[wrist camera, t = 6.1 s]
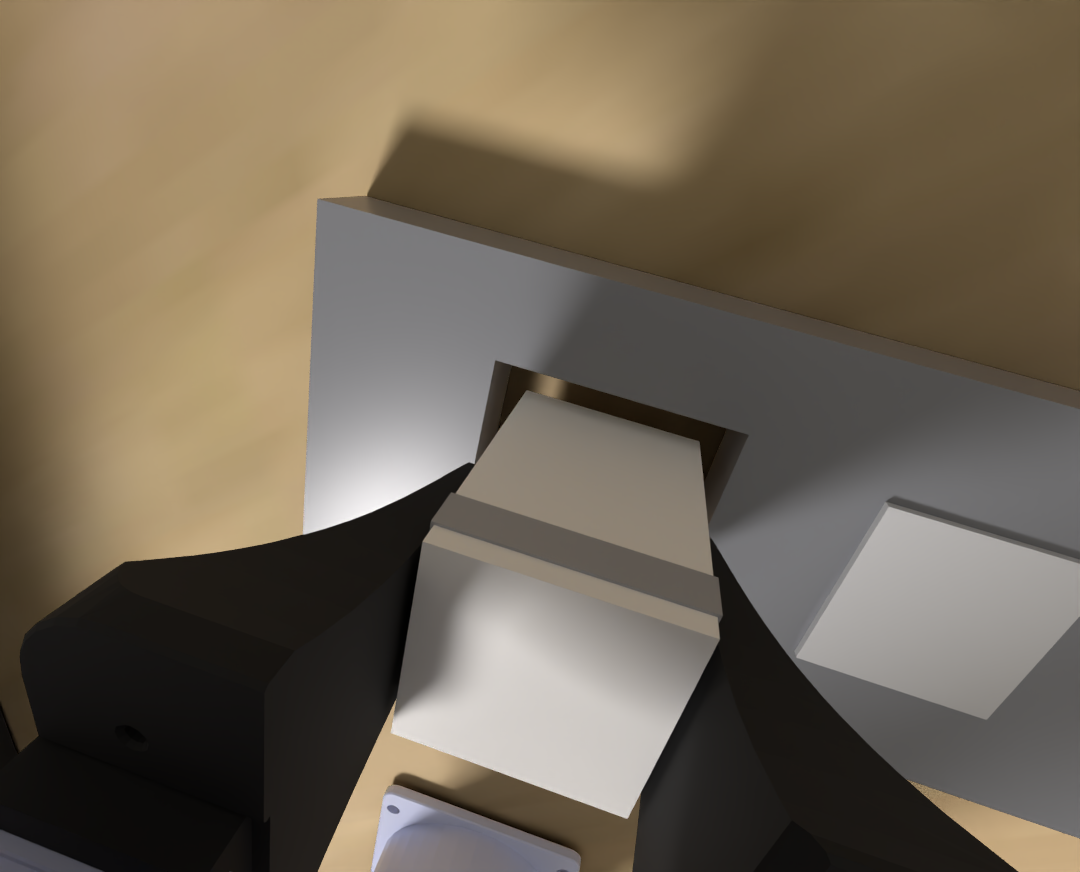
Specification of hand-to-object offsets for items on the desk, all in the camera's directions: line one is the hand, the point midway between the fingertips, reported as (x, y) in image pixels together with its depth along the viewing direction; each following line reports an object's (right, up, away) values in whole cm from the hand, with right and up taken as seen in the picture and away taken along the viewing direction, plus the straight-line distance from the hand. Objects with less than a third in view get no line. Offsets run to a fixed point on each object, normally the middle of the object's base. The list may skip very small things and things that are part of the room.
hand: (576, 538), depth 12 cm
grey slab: (+5, 0, +3) cm, 6 cm away
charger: (0, +1, +2) cm, 2 cm away
